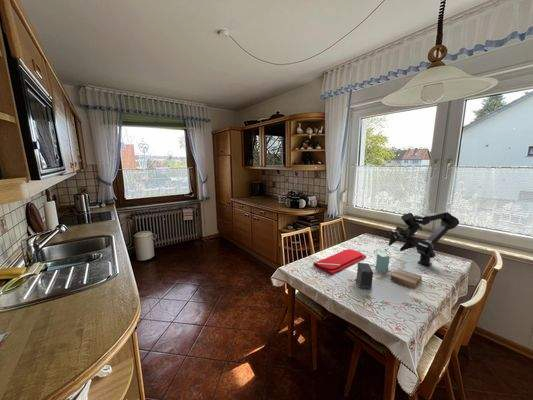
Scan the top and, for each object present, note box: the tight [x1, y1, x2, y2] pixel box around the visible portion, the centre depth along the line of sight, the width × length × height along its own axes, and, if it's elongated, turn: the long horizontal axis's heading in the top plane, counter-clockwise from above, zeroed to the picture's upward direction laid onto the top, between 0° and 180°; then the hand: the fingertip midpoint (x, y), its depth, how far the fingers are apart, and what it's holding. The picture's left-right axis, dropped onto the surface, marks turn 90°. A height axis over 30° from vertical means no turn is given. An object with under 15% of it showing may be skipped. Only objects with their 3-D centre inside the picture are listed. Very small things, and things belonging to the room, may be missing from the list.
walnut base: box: [390, 268, 423, 290], centre depth 129 cm, size 12×12×3 cm
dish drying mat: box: [312, 248, 367, 276], centre depth 153 cm, size 16×41×4 cm, turn 128°
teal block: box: [375, 252, 390, 272], centre depth 142 cm, size 5×5×10 cm
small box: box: [356, 262, 374, 290], centre depth 125 cm, size 11×6×10 cm, turn 168°
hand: (394, 247), depth 141 cm, fingers open, 9 cm apart
